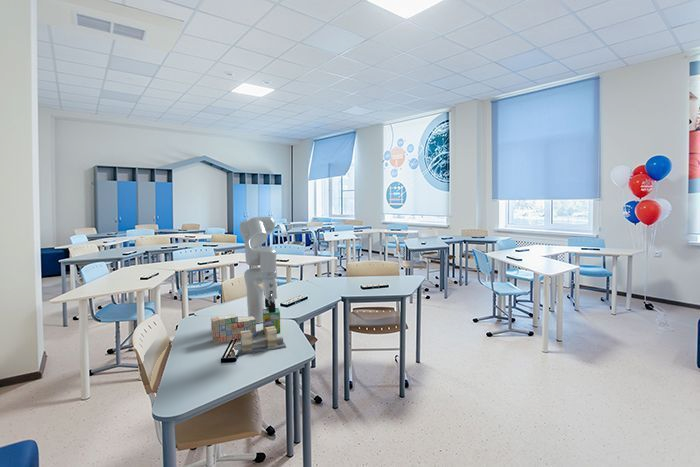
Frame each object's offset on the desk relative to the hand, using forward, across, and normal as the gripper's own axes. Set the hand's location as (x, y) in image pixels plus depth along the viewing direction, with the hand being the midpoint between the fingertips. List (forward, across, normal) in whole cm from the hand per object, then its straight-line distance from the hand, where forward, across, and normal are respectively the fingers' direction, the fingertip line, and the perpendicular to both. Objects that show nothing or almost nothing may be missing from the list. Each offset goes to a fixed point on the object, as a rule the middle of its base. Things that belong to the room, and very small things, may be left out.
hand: (270, 309), depth 183 cm
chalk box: (+19, +20, -4) cm, 28 cm away
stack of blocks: (+19, +19, +16) cm, 31 cm away
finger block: (+17, 0, 0) cm, 17 cm away
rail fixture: (+18, 0, +6) cm, 19 cm away
